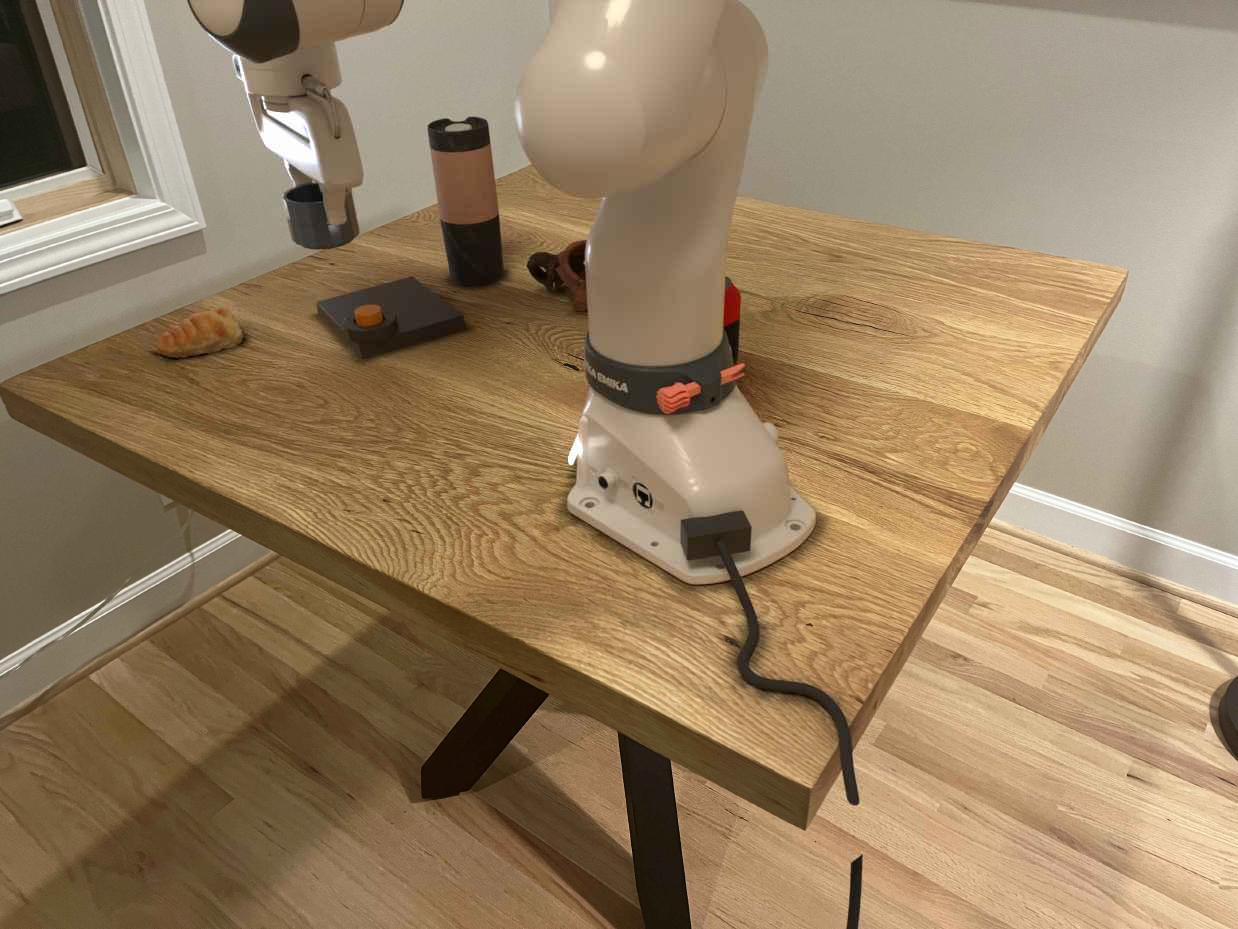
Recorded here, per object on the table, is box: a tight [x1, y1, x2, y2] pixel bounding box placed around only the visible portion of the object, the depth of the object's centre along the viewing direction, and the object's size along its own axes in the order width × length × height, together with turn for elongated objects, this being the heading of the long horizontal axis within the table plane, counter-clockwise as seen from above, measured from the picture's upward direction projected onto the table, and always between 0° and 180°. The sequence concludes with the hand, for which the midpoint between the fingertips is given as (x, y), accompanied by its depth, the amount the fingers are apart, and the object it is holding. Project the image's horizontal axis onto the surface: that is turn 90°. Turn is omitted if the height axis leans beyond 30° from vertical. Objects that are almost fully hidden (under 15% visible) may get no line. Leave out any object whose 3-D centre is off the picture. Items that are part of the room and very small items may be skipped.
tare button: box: [354, 305, 383, 326], centre depth 104 cm, size 3×3×2 cm
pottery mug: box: [526, 239, 588, 313], centre depth 114 cm, size 12×10×8 cm
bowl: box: [281, 182, 361, 251], centre depth 93 cm, size 7×7×5 cm
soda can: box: [723, 275, 742, 386], centre depth 92 cm, size 8×8×12 cm
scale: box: [315, 275, 466, 361], centre depth 110 cm, size 16×13×4 cm
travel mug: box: [427, 116, 504, 288], centre depth 116 cm, size 8×8×20 cm
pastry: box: [155, 305, 244, 359], centre depth 106 cm, size 9×7×4 cm
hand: (321, 211), depth 93 cm, fingers closed on bowl, 7 cm apart
